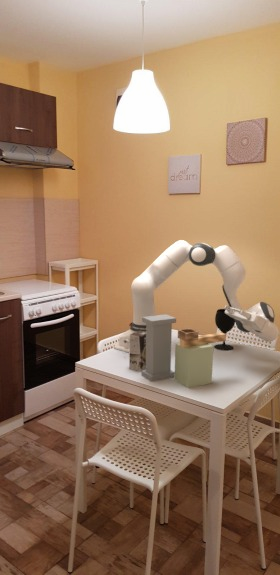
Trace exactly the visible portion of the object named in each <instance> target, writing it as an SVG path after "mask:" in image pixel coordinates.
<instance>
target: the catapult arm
mask: <svg viewBox="0 0 280 575" xmlns="http://www.w3.org/2000/svg"><path fill="white" fill-rule="evenodd" d="M177 339H179V343H180V346H181V347H183V348H186V347H192V346H198V345H204V344H210V345H211V344H215V343H216V344H217V343H221V342H222V343H223V341H225V342H227V333H226V334H224V333H223V332H222V331H220V332H216V333H215V332H214V333H209V334H204V335H202V334H201V335H199V331H198V330H195V329H193V328H190V327H189V328H183V329H182V328H181V329H178V330H177Z"/></svg>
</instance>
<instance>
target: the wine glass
mask: <svg viewBox="0 0 280 575" xmlns="http://www.w3.org/2000/svg"><path fill="white" fill-rule="evenodd" d="M225 310H226V309H224V308H219V309H217V310H216V313H215V318H214V321H215V322H214V323H215V326H216V328H217V329H218V330H219V332H222V333H224V334H226V335H227V334H228V332H230V331H231V330H233V328H234V327H235V325H236V323H235V319H234V318H232V317H230V316H228V315H227V314H225ZM213 349H216V350H217V351H224V352H225V351H232V350H234V349H235V348H234V346H233V345H231V344H227V343H226V341H222V343H216V344H214V346H213Z"/></svg>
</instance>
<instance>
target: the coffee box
mask: <svg viewBox="0 0 280 575" xmlns="http://www.w3.org/2000/svg"><path fill="white" fill-rule="evenodd" d="M128 367H129V369H132V370H134V371H139V372H141V371H144V370H146V331H140V330H139V331H137V332H135V333H132V334H130V353H129V366H128Z"/></svg>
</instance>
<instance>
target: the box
mask: <svg viewBox="0 0 280 575" xmlns="http://www.w3.org/2000/svg"><path fill="white" fill-rule="evenodd" d="M174 352H175V354H174V356H175V357H174V372H175V376H174V381H176V382H177V383H179V384H180V385H182V386H185V387H186V388H188V389H189V388H195V387H199V386H203V385H208V384H212V383H213V365H214V364H213V360H214V346H213V345H212V344H211V343H210V344H204V345H198V346H192V347H186V348H183V347H181V346H180V342H178V343H177V342H176V343H175V351H174Z"/></svg>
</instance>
